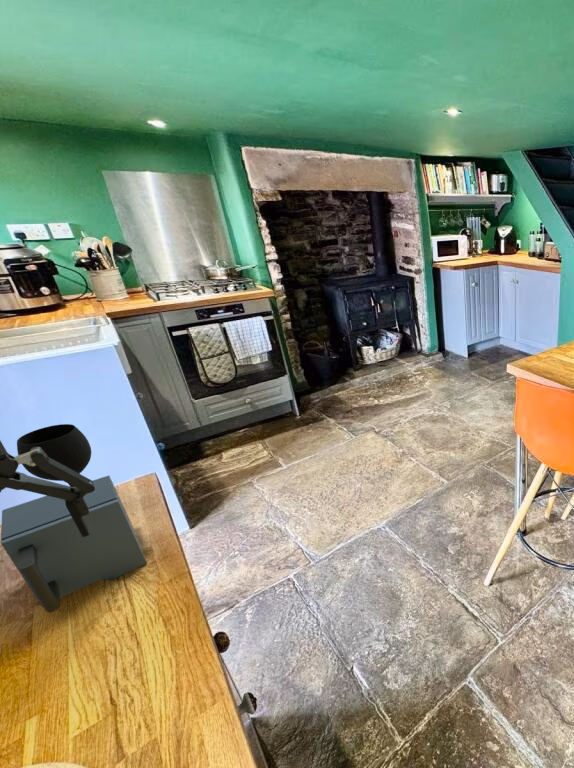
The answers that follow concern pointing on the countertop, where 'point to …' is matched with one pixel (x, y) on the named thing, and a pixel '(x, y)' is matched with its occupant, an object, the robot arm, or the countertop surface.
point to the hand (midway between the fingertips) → (24, 556)
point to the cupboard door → (75, 553)
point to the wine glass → (57, 448)
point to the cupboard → (55, 510)
